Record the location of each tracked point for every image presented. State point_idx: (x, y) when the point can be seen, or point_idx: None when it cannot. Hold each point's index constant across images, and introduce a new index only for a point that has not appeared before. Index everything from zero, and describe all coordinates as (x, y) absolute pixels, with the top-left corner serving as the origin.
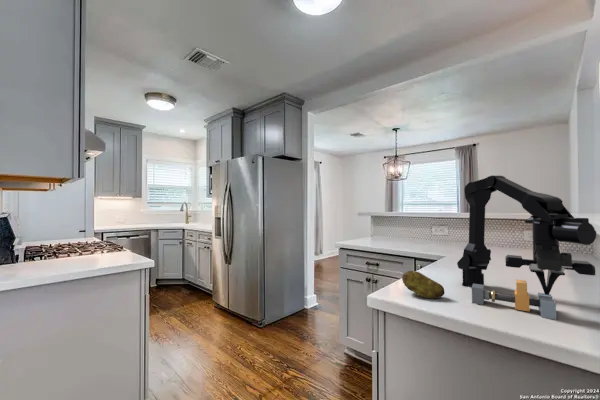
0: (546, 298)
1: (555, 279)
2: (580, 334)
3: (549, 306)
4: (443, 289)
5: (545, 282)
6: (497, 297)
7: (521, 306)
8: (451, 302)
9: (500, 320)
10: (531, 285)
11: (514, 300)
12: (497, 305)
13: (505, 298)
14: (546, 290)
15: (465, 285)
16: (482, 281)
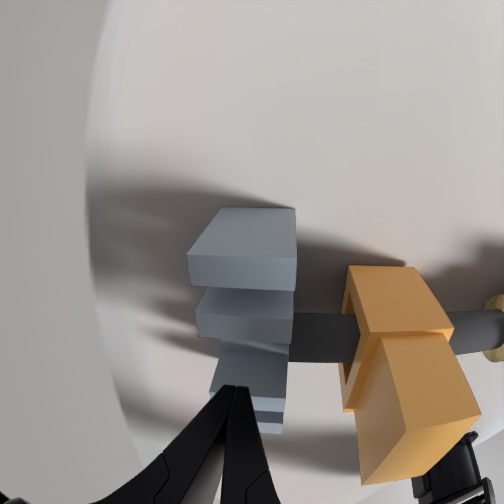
0: (244, 382)
1: (123, 492)
2: (140, 39)
3: (239, 239)
4: None
5: (223, 475)
6: (495, 314)
7: (393, 278)
8: None
9: (486, 42)
10: None
11: None
12: (470, 293)
13: (467, 317)
14: (232, 409)
15: (471, 434)
16: None
